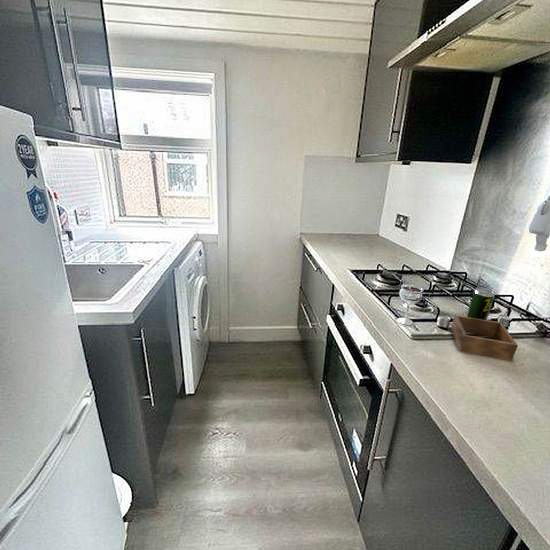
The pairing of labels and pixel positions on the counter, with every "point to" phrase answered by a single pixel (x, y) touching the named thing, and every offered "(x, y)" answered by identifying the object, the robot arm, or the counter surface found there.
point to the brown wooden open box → (496, 348)
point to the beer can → (480, 303)
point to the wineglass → (409, 299)
